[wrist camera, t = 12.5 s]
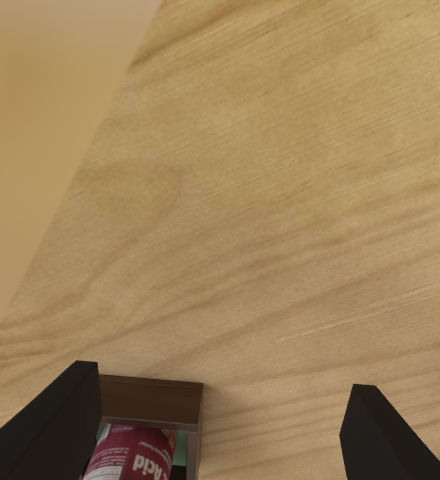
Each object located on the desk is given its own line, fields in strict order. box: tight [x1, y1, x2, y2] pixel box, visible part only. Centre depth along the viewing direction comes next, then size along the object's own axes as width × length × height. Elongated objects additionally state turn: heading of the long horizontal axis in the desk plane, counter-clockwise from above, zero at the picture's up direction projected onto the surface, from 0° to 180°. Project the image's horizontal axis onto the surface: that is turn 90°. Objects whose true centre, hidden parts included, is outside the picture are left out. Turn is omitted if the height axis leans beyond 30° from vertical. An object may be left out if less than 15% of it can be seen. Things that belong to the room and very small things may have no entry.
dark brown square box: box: [79, 375, 203, 480], centre depth 23 cm, size 8×8×3 cm
